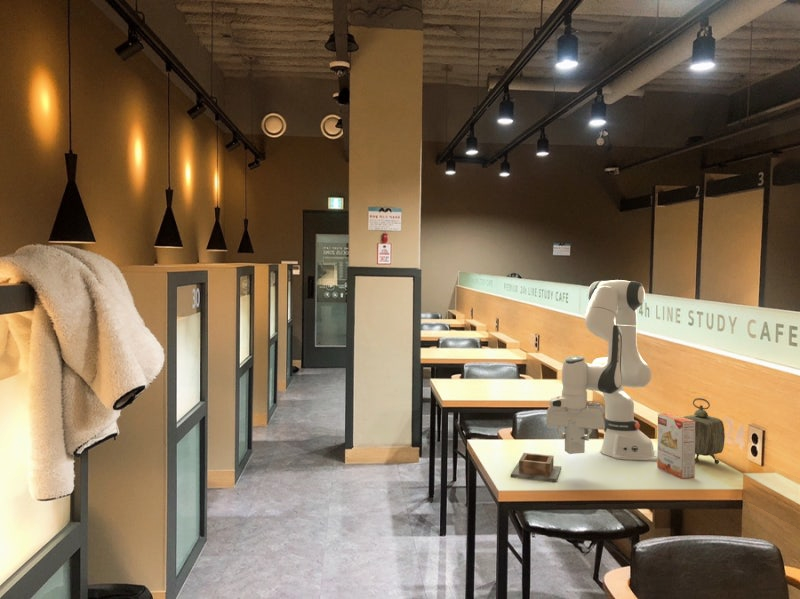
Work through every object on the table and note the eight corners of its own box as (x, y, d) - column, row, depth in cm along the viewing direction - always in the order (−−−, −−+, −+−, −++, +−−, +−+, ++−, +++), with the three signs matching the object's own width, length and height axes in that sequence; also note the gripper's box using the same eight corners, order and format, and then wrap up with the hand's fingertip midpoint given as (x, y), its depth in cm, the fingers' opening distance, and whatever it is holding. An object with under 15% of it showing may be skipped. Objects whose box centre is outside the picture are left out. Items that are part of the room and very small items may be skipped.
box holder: (561, 469, 231) (561, 454, 231) (556, 482, 216) (556, 466, 216) (518, 464, 236) (518, 450, 236) (510, 476, 221) (510, 461, 221)
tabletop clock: (724, 464, 237) (725, 400, 237) (710, 468, 233) (711, 402, 232) (689, 455, 250) (690, 394, 249) (675, 458, 245) (676, 396, 245)
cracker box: (656, 467, 233) (657, 413, 233) (669, 466, 235) (670, 412, 234) (680, 479, 220) (681, 421, 219) (695, 478, 221) (696, 420, 220)
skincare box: (570, 454, 221) (569, 421, 220) (564, 451, 225) (563, 418, 225) (585, 453, 222) (585, 420, 222) (579, 449, 226) (579, 417, 226)
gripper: (604, 401, 222) (605, 439, 223) (547, 398, 229) (547, 434, 230) (604, 405, 216) (604, 443, 217) (545, 401, 223) (545, 439, 224)
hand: (574, 439), depth 223 cm, fingers closed on skincare box, 7 cm apart
